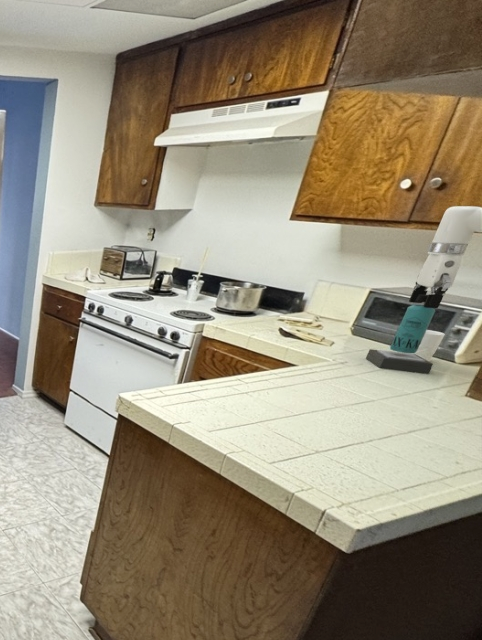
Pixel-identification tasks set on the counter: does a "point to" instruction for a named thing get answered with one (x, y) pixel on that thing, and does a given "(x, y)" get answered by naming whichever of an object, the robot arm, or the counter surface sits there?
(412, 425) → the counter surface
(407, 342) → the beverage bottle
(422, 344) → the white cup
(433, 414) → the counter surface
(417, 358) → the pan
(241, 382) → the counter surface
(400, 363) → the scale
